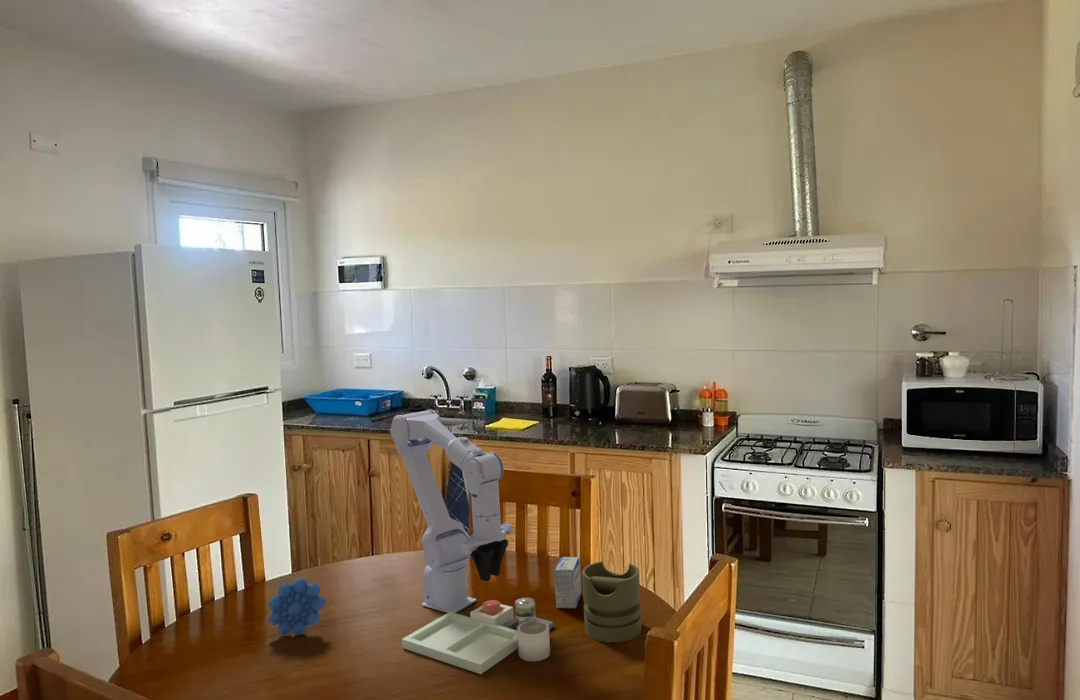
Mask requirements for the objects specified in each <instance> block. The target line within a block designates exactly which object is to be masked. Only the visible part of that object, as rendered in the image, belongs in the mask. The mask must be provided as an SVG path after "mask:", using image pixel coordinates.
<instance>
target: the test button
mask: <svg viewBox="0 0 1080 700" xmlns="http://www.w3.org/2000/svg"><path fill="white" fill-rule="evenodd" d="M500 604H501V601H499V600H496V599H489V600H486V601H484V602H483V603H482V605H483V613H485V614H489V615H492V616H494V615H495V614H497V613H498V612H500Z"/></svg>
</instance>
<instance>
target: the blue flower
mask: <svg viewBox="0 0 1080 700" xmlns="http://www.w3.org/2000/svg"><path fill="white" fill-rule="evenodd" d="M320 591H321V587H320V585H319V584H318V583H313V582H312V583H310V584H309V585H308V580H307V579H306V578H304V577H299V578H297V579H296V580H294V582H293V584H292V583H290V582H284V583H283V584H281V585H280V586H279V587H278V590H277V595H274V596H272V597H271V598H270V600H269V601H268V608H269V610H270V611H271V612H270V614H269V615H268V623H269V625H271V626H277V633H278V634H279V635H281V636H287V635H288V634H289V633H291V632H292V633H293V634H294V635H295V636H301V635H303V634H304V633H305V632H306V631H307V629H308V627H307V626H309V627H313V626H315V625H316V624H317V623H319V621H320V613H319V611H321V610H322V609H323V608H324V607H325V605H326V604H325V603H326V602H325V601H326V599H325V598H324V597H323V596H322V595H321V596H320ZM300 634H301V635H300Z"/></svg>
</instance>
